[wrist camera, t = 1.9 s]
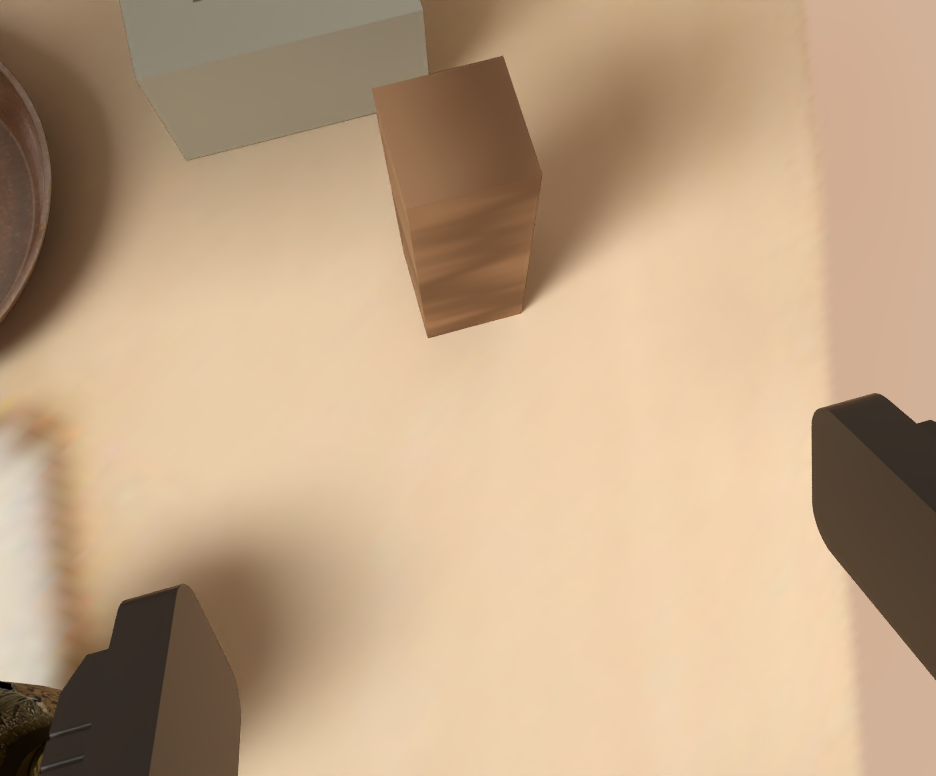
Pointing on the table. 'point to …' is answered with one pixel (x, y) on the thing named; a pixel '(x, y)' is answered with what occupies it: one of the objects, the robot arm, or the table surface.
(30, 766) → the cup
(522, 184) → the brown wooden bar
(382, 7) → the socket block
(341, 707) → the table surface
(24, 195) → the plant saucer
